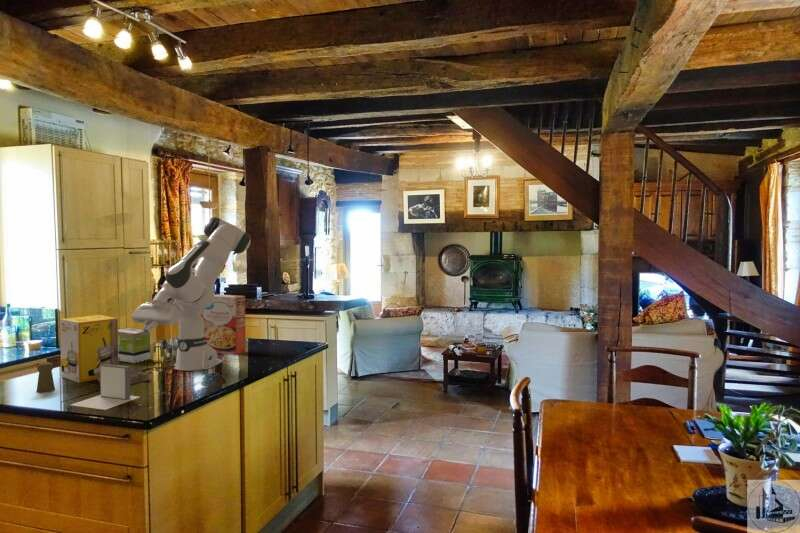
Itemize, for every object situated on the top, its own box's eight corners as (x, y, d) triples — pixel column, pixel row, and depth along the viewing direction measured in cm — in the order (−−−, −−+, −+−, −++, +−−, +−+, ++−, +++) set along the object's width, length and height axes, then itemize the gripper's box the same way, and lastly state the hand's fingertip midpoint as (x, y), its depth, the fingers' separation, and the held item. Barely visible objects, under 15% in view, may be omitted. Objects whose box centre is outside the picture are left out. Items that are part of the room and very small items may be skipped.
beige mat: (107, 394, 201) (106, 392, 201) (140, 398, 197) (140, 396, 197) (69, 406, 186) (69, 404, 186) (105, 411, 181) (105, 409, 181)
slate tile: (104, 395, 198) (104, 363, 197) (130, 398, 194) (129, 366, 194) (100, 396, 196) (99, 365, 195) (125, 400, 193) (125, 367, 192)
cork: (42, 388, 208) (41, 361, 207) (58, 388, 209) (57, 360, 208) (32, 393, 202) (32, 364, 201) (49, 392, 202) (48, 364, 202)
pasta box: (199, 351, 279) (199, 295, 278) (209, 348, 287) (209, 294, 286) (235, 355, 272) (235, 297, 271) (245, 352, 280) (245, 295, 278)
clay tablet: (87, 383, 217) (122, 388, 210) (87, 371, 217) (122, 376, 209) (118, 376, 230) (151, 380, 222) (117, 365, 230) (151, 369, 222)
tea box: (111, 360, 257) (110, 330, 256) (128, 356, 266) (128, 327, 266) (133, 363, 251) (133, 332, 251) (151, 359, 261) (150, 329, 260)
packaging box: (118, 374, 230) (118, 318, 229) (79, 382, 217) (78, 322, 216) (100, 369, 239) (99, 314, 238) (61, 376, 226) (59, 319, 225)
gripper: (138, 297, 218) (120, 324, 209) (180, 300, 212) (163, 327, 204) (147, 307, 223) (129, 334, 214) (187, 309, 217) (171, 337, 208)
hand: (146, 331), depth 209 cm, fingers closed
